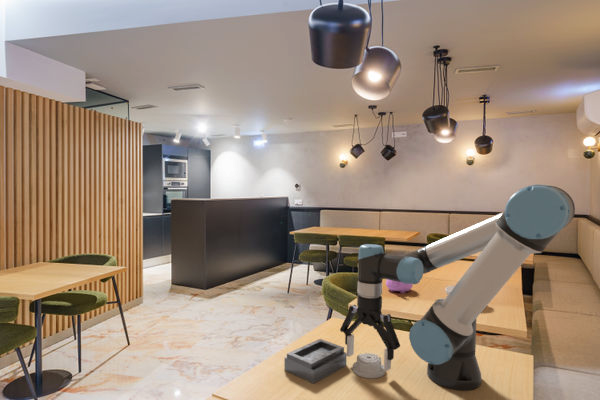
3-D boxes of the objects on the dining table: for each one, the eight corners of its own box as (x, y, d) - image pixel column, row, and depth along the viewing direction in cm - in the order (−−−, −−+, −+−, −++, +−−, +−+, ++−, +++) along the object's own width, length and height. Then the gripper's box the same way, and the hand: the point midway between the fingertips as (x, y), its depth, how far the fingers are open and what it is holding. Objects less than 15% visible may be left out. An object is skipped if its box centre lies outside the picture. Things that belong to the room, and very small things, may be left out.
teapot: (405, 297, 199) (406, 274, 199) (379, 293, 207) (379, 270, 206) (416, 288, 216) (417, 267, 216) (392, 285, 224) (392, 264, 223)
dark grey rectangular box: (351, 362, 126) (352, 345, 126) (313, 383, 112) (313, 365, 112) (323, 351, 134) (323, 335, 134) (284, 370, 120) (284, 352, 120)
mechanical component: (390, 370, 121) (362, 361, 127) (390, 356, 121) (363, 347, 127) (375, 382, 113) (346, 372, 120) (375, 368, 113) (346, 358, 119)
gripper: (412, 300, 114) (410, 371, 115) (344, 284, 131) (342, 346, 132) (400, 306, 108) (398, 380, 109) (330, 289, 125) (329, 353, 126)
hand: (368, 362), depth 121 cm, fingers open, 13 cm apart
